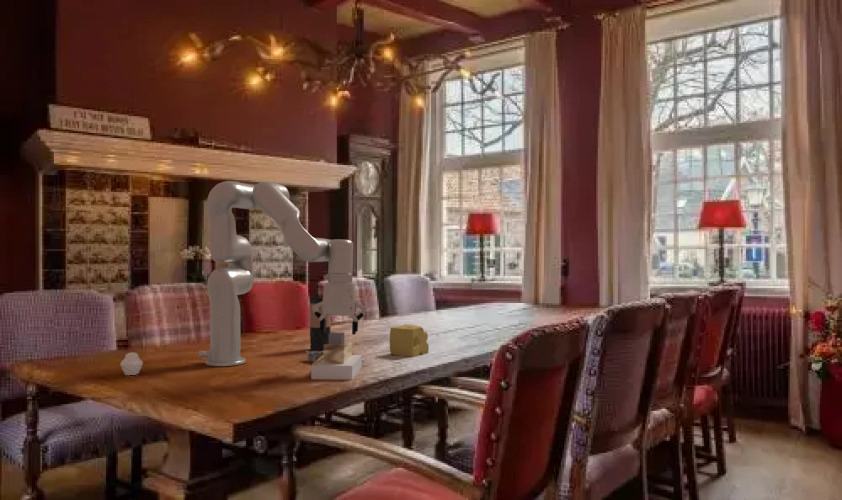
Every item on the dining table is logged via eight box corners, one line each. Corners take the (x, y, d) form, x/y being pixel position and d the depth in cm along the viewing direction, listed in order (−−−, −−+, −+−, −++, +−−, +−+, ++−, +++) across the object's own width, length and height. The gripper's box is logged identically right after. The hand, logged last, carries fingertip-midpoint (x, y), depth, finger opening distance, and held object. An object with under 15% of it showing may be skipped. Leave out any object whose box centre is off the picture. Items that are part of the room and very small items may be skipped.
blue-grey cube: (328, 347, 196) (328, 334, 196) (331, 345, 200) (331, 332, 200) (341, 347, 195) (341, 334, 195) (344, 345, 199) (344, 332, 199)
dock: (311, 379, 188) (311, 364, 188) (324, 367, 207) (324, 354, 207) (352, 379, 187) (352, 365, 187) (361, 367, 206) (361, 354, 206)
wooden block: (323, 363, 191) (323, 344, 191) (333, 355, 206) (333, 337, 206) (343, 363, 191) (343, 345, 191) (351, 355, 206) (351, 338, 206)
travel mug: (328, 351, 239) (328, 297, 239) (308, 351, 239) (308, 297, 239) (331, 347, 247) (331, 295, 247) (311, 347, 247) (311, 295, 247)
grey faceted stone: (145, 372, 197) (145, 350, 197) (139, 376, 191) (140, 353, 191) (123, 373, 196) (123, 350, 196) (117, 377, 190) (117, 353, 190)
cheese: (428, 353, 235) (428, 325, 235) (412, 357, 226) (412, 329, 226) (405, 350, 240) (405, 324, 240) (388, 354, 231) (388, 327, 231)
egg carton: (340, 363, 216) (340, 350, 216) (320, 365, 211) (320, 353, 211) (323, 358, 224) (323, 346, 224) (304, 361, 219) (304, 349, 219)
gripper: (310, 278, 199) (308, 334, 199) (366, 280, 198) (364, 336, 198) (315, 277, 206) (314, 330, 206) (369, 279, 205) (367, 332, 206)
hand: (338, 333), depth 202 cm, fingers open, 9 cm apart
